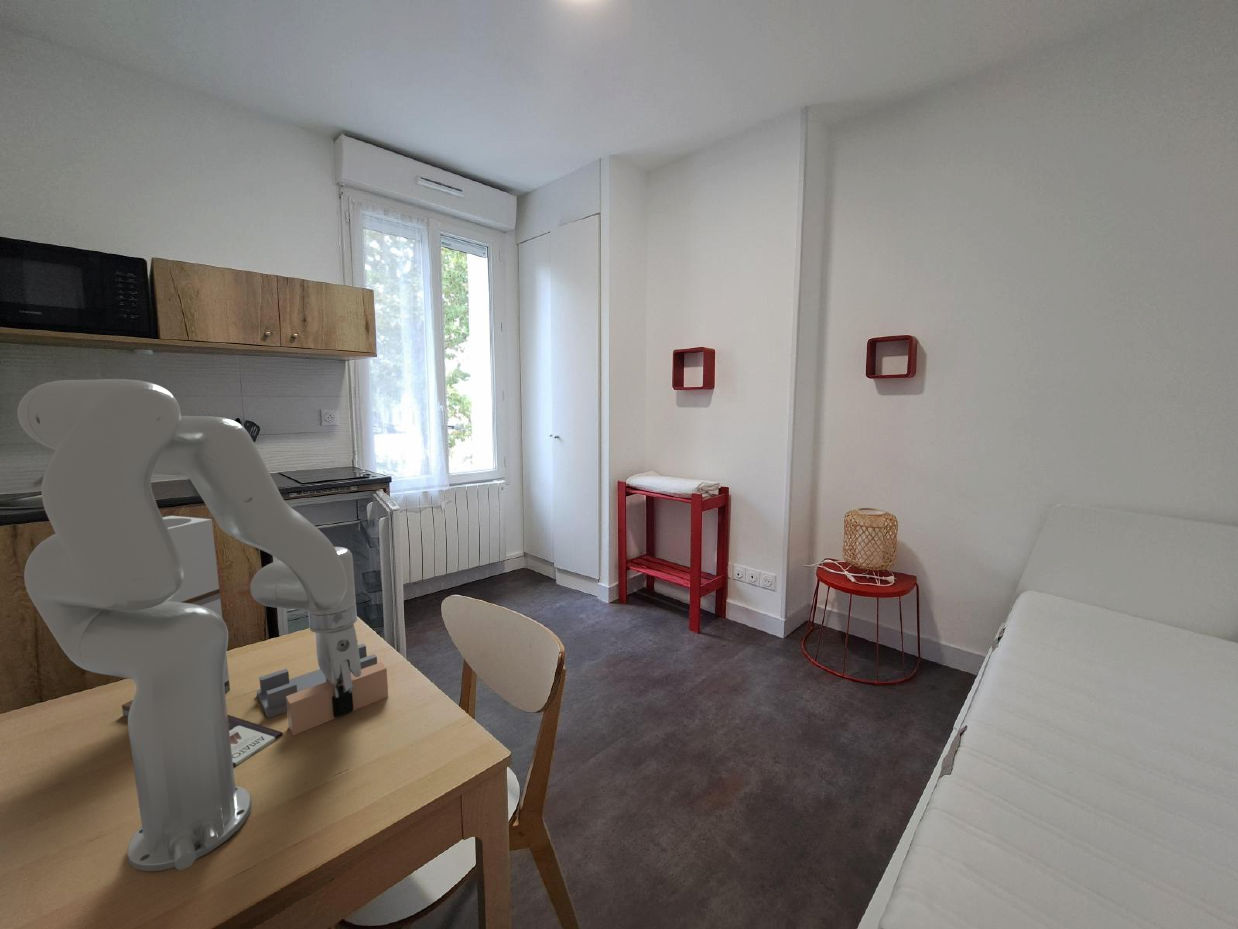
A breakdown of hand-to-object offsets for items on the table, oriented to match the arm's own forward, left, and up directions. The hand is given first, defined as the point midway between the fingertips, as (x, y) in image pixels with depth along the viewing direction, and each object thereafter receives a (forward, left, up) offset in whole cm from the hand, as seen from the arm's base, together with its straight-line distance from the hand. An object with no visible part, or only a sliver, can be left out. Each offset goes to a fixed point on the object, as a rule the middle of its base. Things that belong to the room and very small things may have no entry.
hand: (340, 708), depth 92 cm
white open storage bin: (+25, +21, -1) cm, 33 cm away
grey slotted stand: (+12, 0, 0) cm, 12 cm away
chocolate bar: (+6, +17, -1) cm, 18 cm away
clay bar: (0, 0, -1) cm, 1 cm away
